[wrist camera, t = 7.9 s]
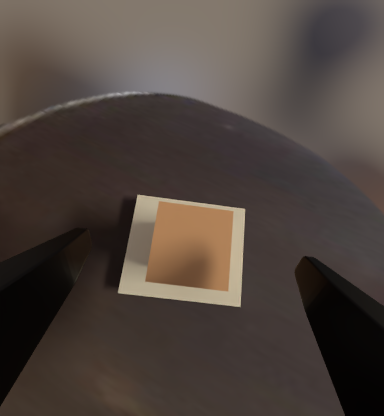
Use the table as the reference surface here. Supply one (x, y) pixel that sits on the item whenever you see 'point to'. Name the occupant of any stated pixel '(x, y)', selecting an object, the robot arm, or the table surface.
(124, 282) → the socket
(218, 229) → the plug
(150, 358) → the table surface
